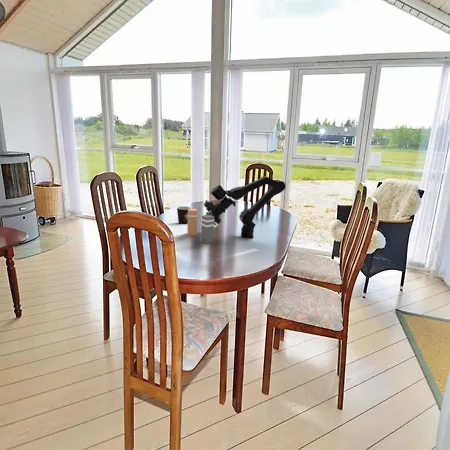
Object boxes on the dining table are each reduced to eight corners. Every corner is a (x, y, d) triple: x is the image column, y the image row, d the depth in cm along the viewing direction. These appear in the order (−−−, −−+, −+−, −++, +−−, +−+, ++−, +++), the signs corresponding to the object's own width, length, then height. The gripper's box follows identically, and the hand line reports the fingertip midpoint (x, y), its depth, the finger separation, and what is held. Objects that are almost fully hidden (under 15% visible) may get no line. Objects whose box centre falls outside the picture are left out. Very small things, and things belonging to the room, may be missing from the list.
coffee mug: (177, 225, 209) (177, 209, 206) (175, 221, 217) (176, 206, 214) (196, 225, 212) (196, 209, 209) (193, 221, 220) (194, 206, 217)
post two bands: (207, 240, 180) (208, 214, 176) (213, 242, 177) (214, 216, 173) (200, 241, 177) (201, 215, 173) (205, 244, 174) (206, 217, 170)
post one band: (195, 232, 191) (196, 208, 187) (196, 235, 187) (197, 210, 183) (187, 232, 190) (187, 208, 186) (187, 235, 186) (188, 210, 182)
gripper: (210, 192, 193) (190, 211, 194) (215, 199, 176) (193, 219, 177) (223, 206, 197) (203, 224, 198) (229, 214, 180) (208, 234, 180)
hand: (202, 225), depth 188 cm, fingers closed
